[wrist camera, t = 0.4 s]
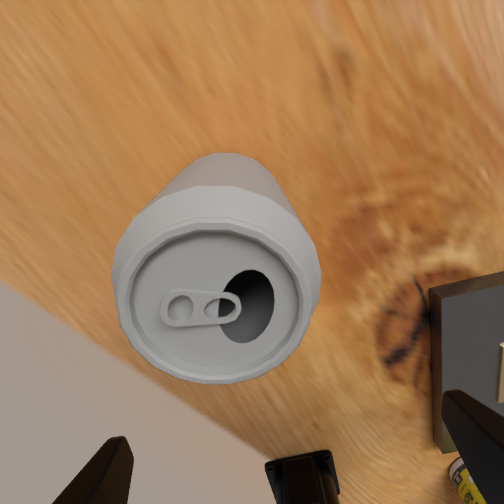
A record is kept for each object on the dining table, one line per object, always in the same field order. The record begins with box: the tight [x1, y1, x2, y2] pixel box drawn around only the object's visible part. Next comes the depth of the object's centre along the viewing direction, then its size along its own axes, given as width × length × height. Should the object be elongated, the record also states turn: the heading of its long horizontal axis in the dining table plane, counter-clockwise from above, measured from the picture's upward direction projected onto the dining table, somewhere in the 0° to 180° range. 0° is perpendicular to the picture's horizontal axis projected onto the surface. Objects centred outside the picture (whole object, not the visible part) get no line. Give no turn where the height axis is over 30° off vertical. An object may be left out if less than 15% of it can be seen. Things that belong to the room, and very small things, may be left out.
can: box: [111, 153, 322, 384], centre depth 16 cm, size 8×8×12 cm
